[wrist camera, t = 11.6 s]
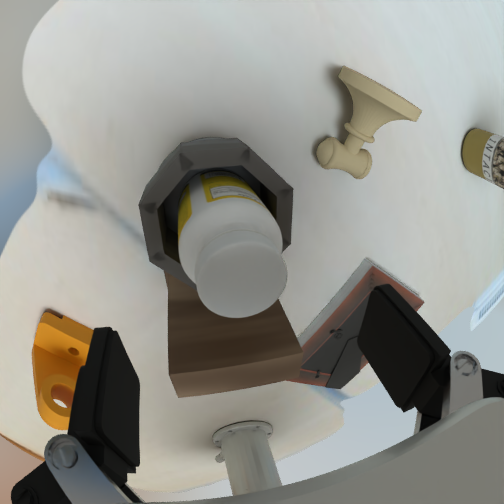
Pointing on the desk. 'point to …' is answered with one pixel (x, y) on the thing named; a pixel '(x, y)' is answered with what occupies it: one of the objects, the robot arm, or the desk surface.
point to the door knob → (363, 123)
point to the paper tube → (485, 155)
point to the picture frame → (343, 329)
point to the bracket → (58, 365)
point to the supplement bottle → (229, 244)
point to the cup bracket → (185, 290)
